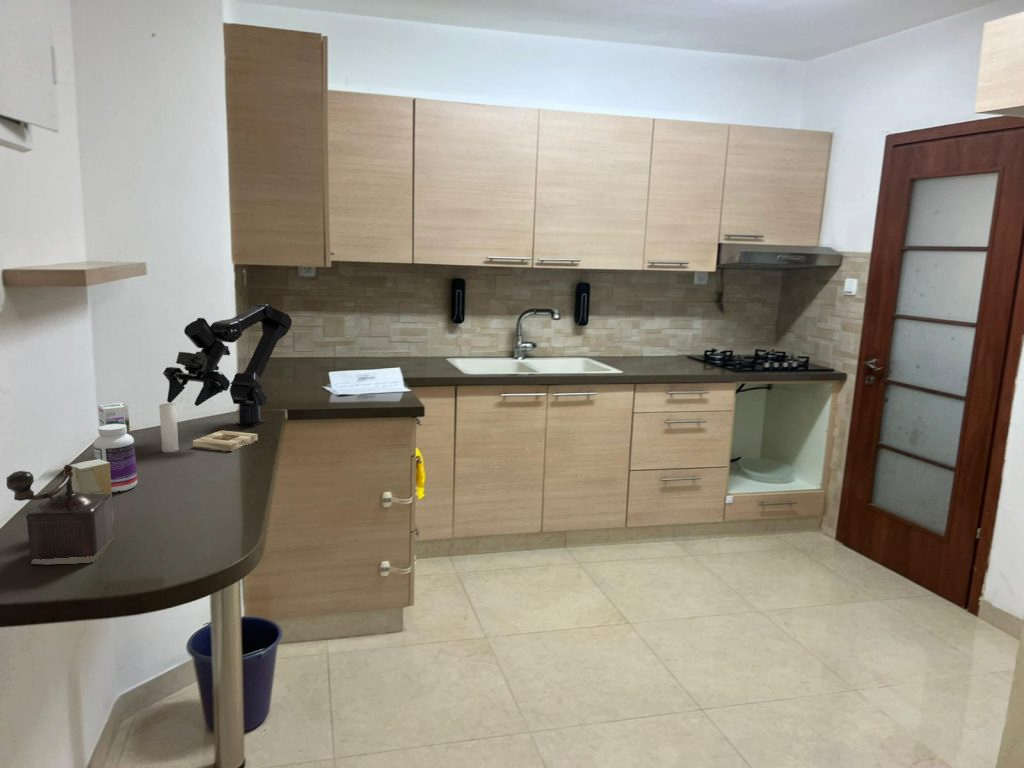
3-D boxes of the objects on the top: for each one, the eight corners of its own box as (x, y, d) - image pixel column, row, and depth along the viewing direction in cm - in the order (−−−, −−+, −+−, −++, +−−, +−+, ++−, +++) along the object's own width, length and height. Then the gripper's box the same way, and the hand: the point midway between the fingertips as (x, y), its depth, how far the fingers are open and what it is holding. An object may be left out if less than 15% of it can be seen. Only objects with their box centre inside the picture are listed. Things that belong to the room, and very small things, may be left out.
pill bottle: (144, 482, 167) (140, 422, 164) (125, 494, 159) (120, 431, 156) (110, 481, 167) (105, 421, 165) (89, 493, 159) (84, 430, 157)
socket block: (221, 437, 207) (220, 430, 207) (257, 440, 205) (257, 434, 204) (193, 447, 196) (192, 440, 196) (231, 452, 193) (231, 444, 193)
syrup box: (107, 465, 179) (103, 408, 177) (102, 459, 184) (97, 404, 181) (132, 461, 183) (128, 405, 180) (126, 455, 187) (122, 401, 185)
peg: (169, 447, 196) (166, 402, 193) (181, 449, 195) (179, 404, 192) (158, 451, 192) (155, 405, 189) (171, 453, 191) (168, 407, 189)
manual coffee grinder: (52, 542, 133) (42, 449, 130) (116, 539, 135) (108, 447, 132) (10, 580, 118) (-2, 476, 115) (83, 576, 120) (74, 474, 117)
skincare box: (82, 529, 140) (77, 469, 137) (70, 524, 142) (65, 465, 140) (115, 519, 145) (110, 461, 143) (103, 514, 147) (98, 457, 145)
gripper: (166, 338, 201) (136, 383, 192) (221, 342, 195) (193, 389, 187) (188, 362, 209) (161, 406, 201) (241, 367, 204) (216, 413, 196)
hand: (182, 403), depth 196 cm, fingers open, 9 cm apart
